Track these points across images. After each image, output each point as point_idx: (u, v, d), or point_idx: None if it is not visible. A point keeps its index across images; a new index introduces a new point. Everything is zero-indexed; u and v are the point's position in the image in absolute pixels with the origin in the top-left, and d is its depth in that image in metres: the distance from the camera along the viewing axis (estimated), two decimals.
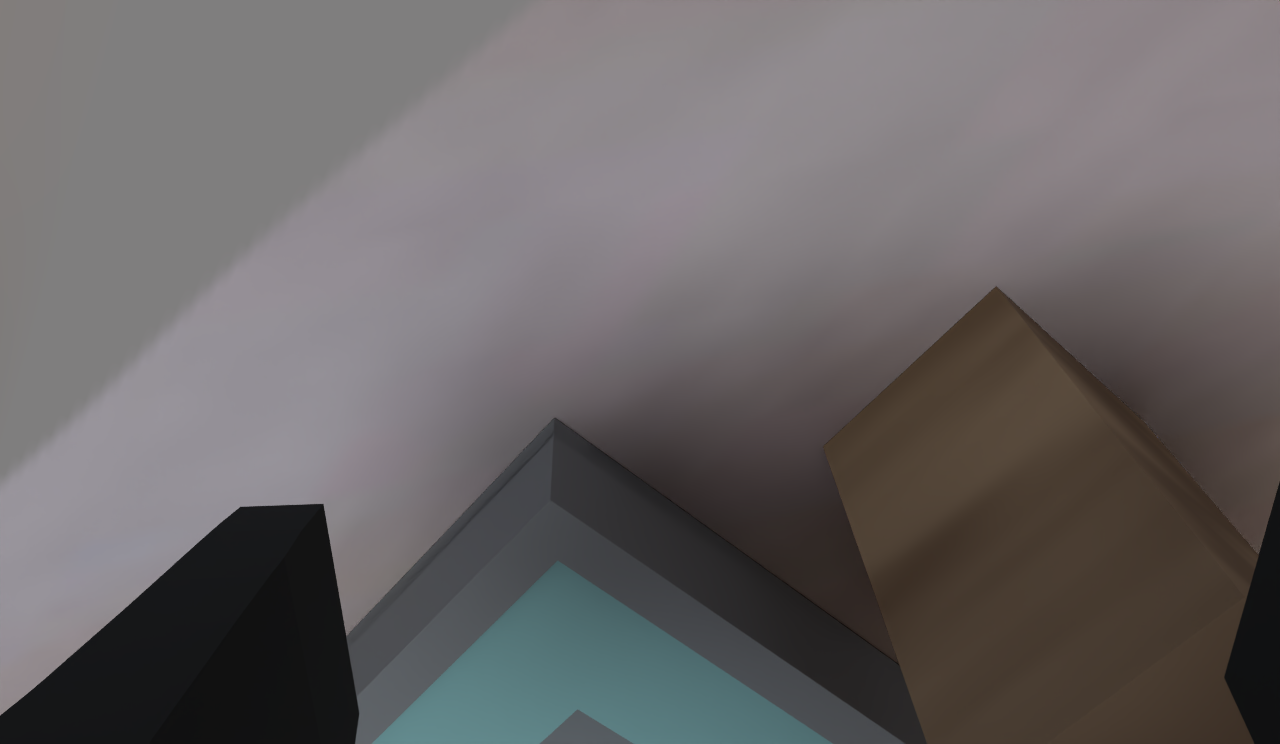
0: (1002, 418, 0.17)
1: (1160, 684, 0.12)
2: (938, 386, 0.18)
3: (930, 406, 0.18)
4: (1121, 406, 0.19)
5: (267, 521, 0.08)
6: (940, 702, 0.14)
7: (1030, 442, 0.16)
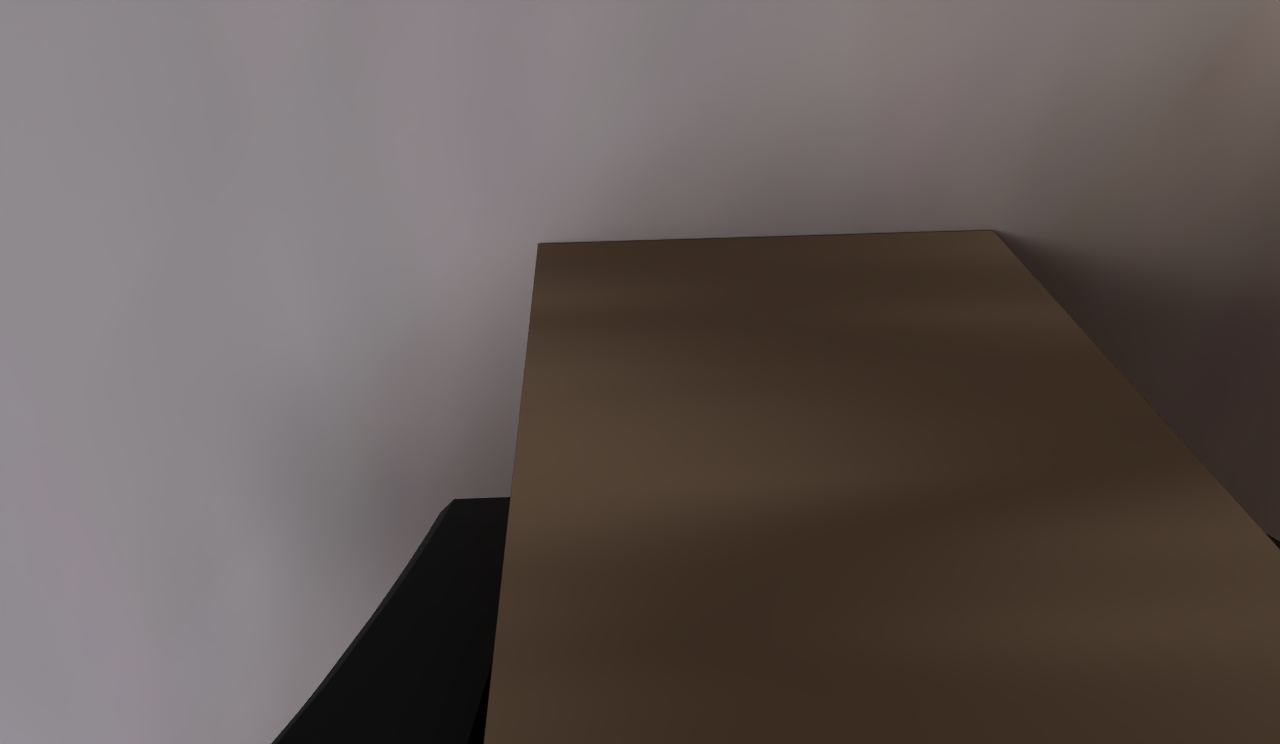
0: None
1: None
2: None
3: None
4: (881, 268, 0.09)
5: (492, 513, 0.08)
6: None
7: None
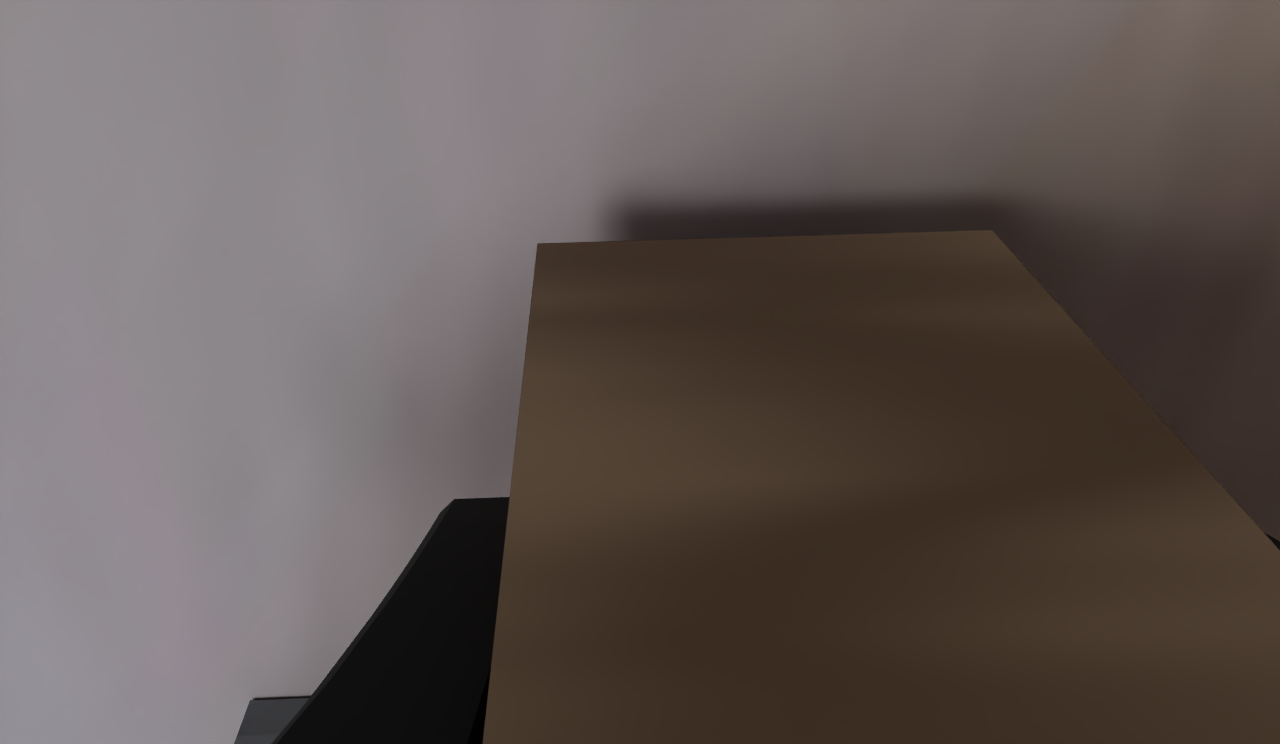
0: None
1: None
2: None
3: None
4: (881, 267, 0.09)
5: (492, 513, 0.08)
6: None
7: None
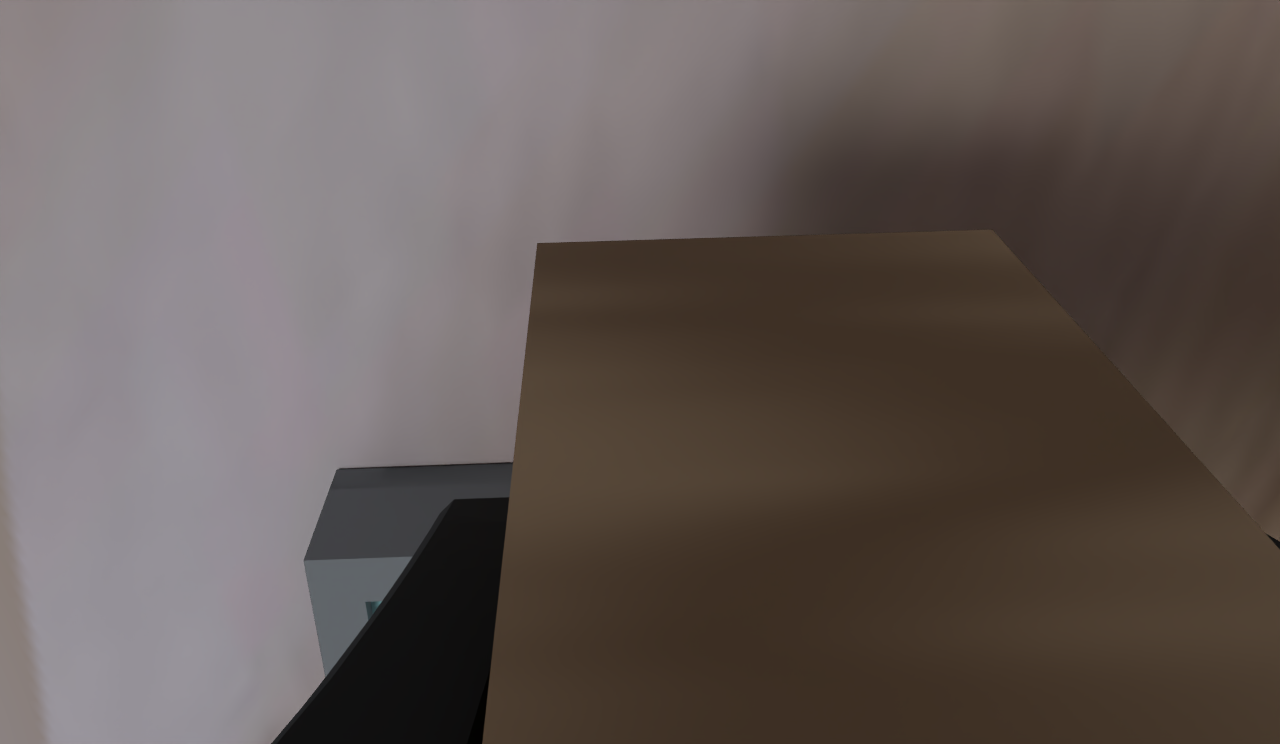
0: None
1: None
2: None
3: None
4: (881, 267, 0.09)
5: (492, 513, 0.08)
6: None
7: None
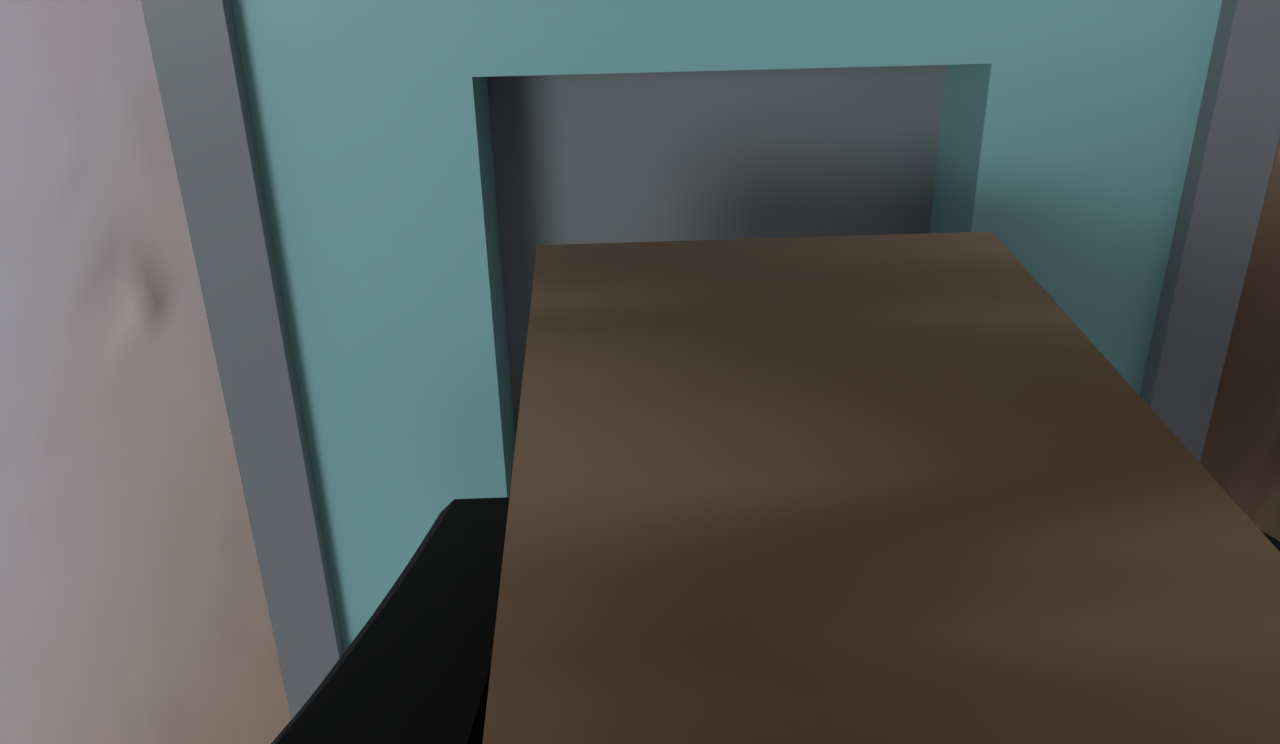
0: None
1: None
2: None
3: None
4: (881, 269, 0.09)
5: (492, 513, 0.08)
6: None
7: None
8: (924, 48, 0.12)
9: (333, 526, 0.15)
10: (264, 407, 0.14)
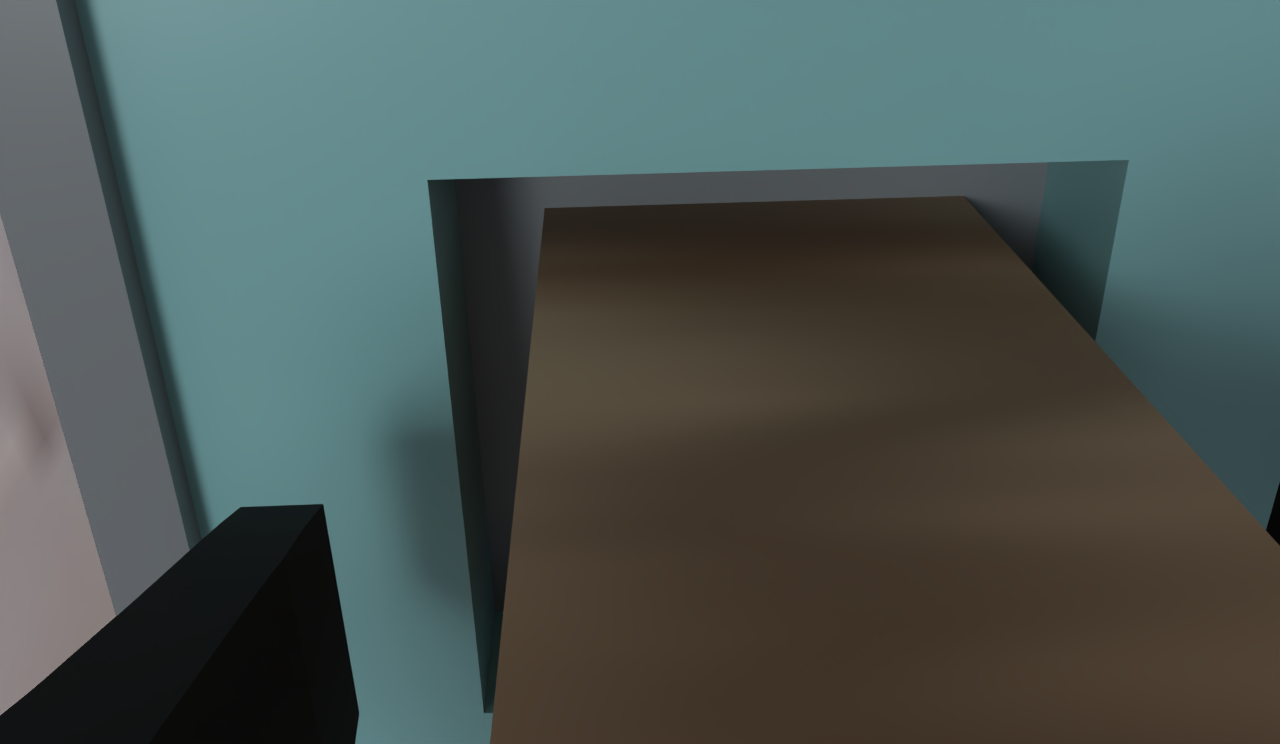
0: None
1: None
2: None
3: None
4: (859, 228, 0.10)
5: (267, 521, 0.08)
6: None
7: None
8: (1040, 140, 0.09)
9: None
10: None
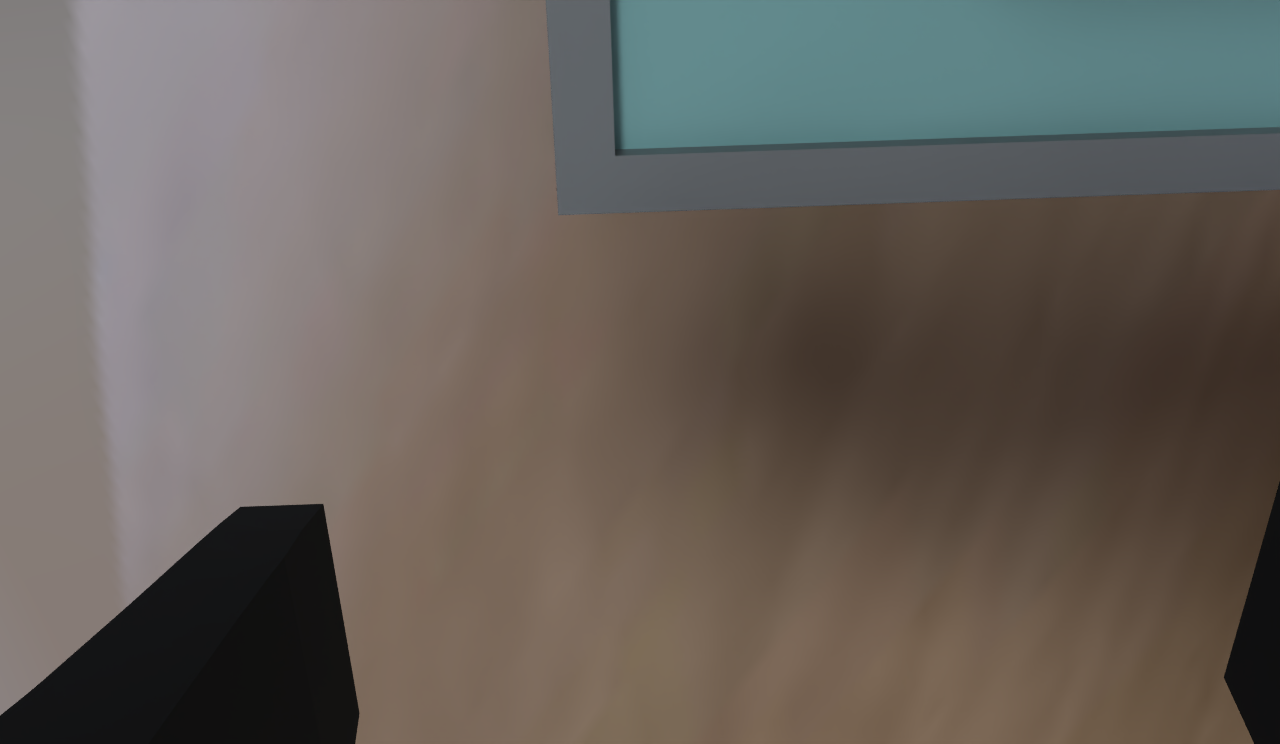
0: None
1: None
2: None
3: None
4: None
5: (267, 523, 0.08)
6: None
7: None
8: None
9: None
10: None
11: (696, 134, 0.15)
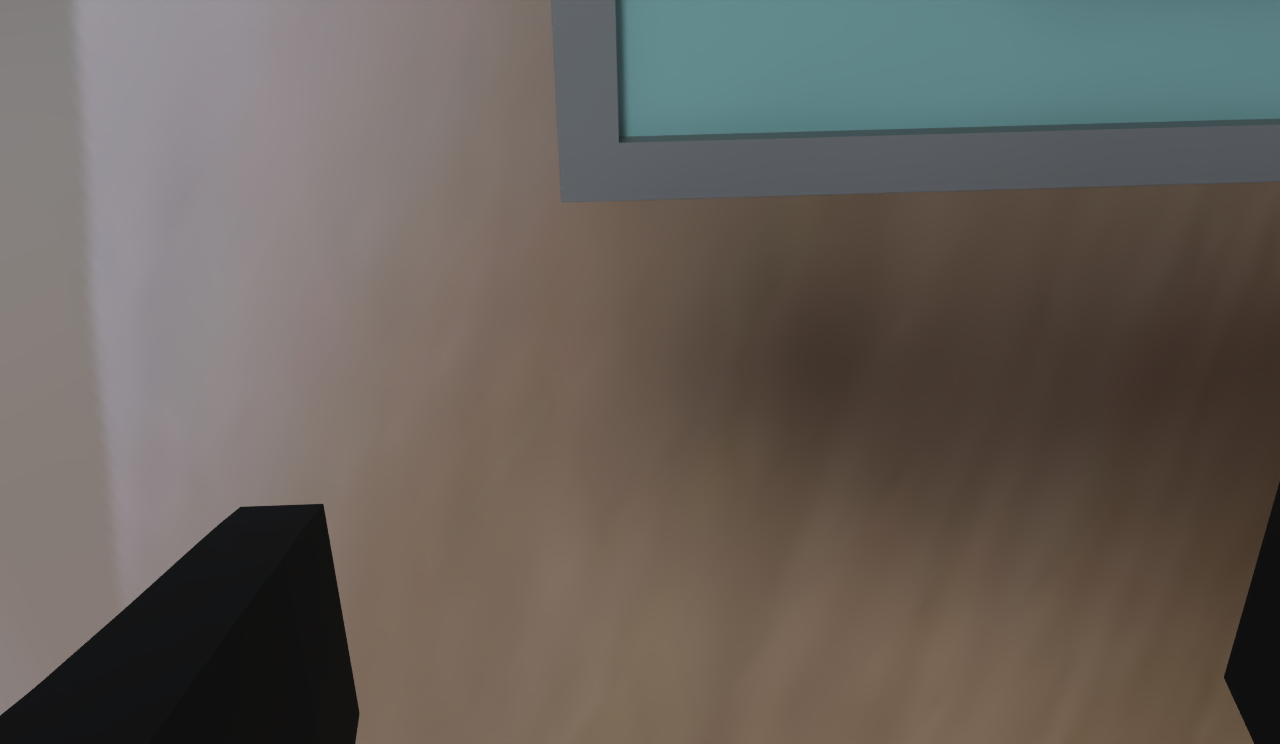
0: None
1: None
2: None
3: None
4: None
5: (267, 523, 0.08)
6: None
7: None
8: None
9: None
10: None
11: (700, 122, 0.15)
